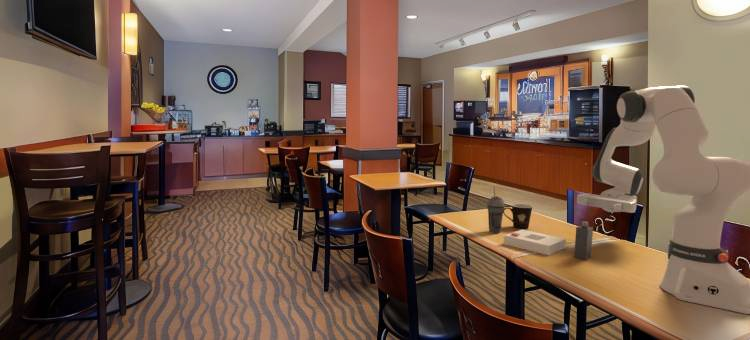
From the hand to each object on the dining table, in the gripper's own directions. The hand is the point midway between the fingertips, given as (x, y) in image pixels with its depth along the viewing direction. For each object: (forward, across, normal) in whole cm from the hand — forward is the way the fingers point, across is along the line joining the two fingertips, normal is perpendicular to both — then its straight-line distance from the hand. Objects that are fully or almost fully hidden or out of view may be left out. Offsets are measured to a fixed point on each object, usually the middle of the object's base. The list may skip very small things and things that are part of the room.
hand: (598, 205), depth 160 cm
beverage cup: (+6, -38, +18) cm, 43 cm away
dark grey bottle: (+12, 0, +17) cm, 21 cm away
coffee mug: (-10, -36, +18) cm, 42 cm away
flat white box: (+12, -18, +17) cm, 28 cm away
